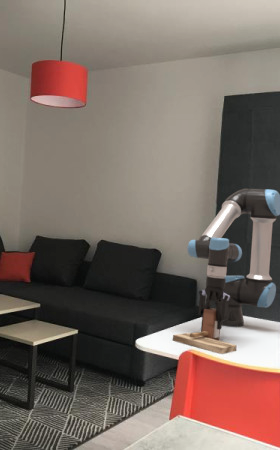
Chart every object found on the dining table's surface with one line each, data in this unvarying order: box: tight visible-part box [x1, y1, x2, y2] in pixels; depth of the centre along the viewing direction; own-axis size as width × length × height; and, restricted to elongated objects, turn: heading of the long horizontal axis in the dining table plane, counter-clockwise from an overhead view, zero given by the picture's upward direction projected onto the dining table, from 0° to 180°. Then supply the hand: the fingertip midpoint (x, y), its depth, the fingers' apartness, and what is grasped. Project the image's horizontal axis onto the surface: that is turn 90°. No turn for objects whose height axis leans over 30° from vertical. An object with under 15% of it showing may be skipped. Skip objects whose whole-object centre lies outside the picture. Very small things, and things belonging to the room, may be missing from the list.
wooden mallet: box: [189, 307, 221, 341], centre depth 197 cm, size 16×4×12 cm, turn 139°
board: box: [172, 332, 237, 355], centre depth 192 cm, size 10×22×2 cm, turn 49°
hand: (210, 335), depth 201 cm, fingers closed on wooden mallet, 4 cm apart
